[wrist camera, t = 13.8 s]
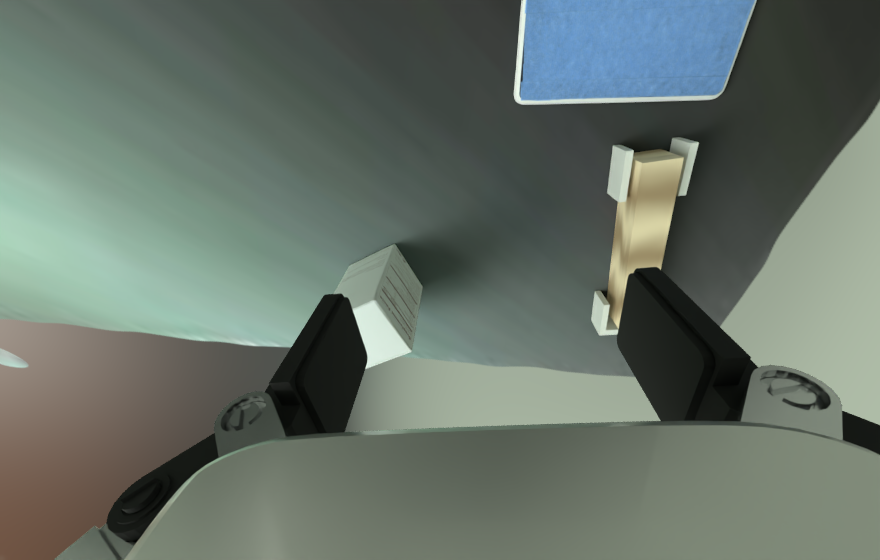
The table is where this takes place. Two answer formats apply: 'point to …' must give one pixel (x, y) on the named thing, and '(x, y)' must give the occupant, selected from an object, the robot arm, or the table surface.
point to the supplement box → (383, 303)
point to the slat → (642, 220)
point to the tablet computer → (627, 49)
